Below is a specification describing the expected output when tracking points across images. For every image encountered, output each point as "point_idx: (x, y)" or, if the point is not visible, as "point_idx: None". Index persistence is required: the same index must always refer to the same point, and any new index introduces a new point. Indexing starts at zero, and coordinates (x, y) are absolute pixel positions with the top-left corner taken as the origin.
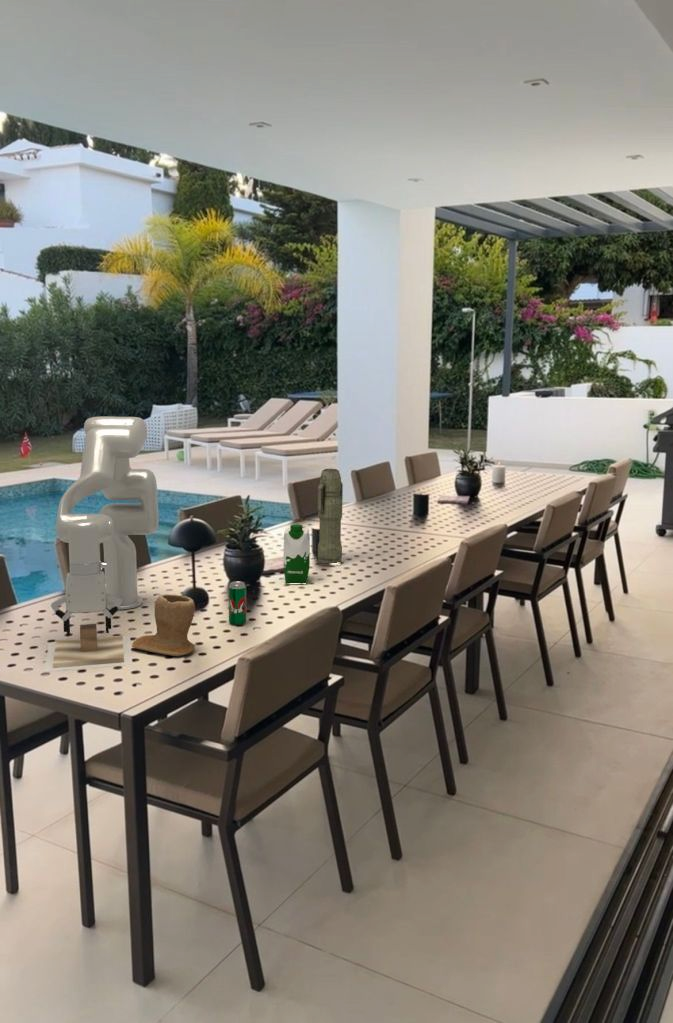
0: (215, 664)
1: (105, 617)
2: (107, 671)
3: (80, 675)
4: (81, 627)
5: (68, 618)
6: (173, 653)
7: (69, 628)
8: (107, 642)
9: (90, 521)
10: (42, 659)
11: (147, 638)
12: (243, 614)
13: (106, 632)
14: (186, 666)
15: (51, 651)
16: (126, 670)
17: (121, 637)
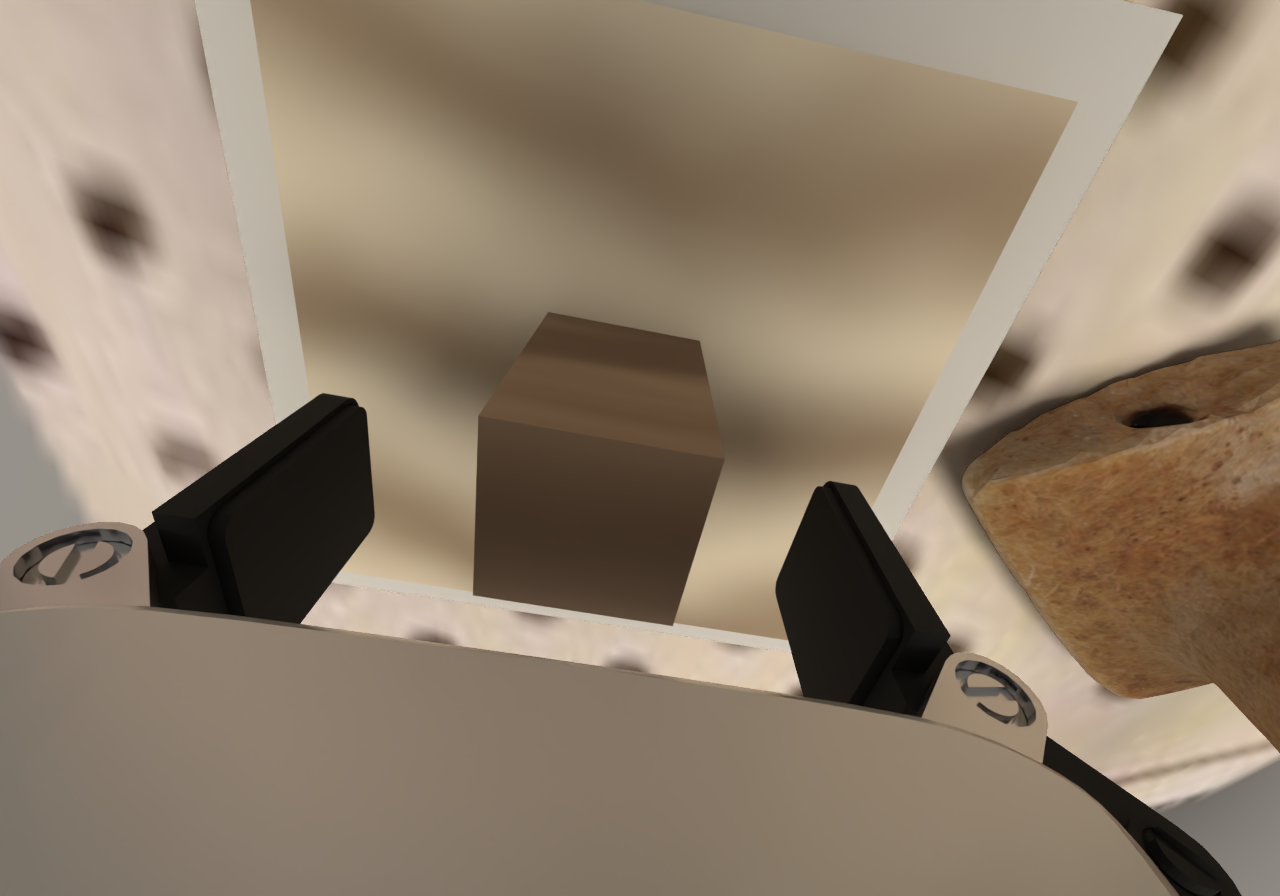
0: (1207, 752)
1: (854, 695)
2: (673, 651)
3: (525, 646)
4: (495, 530)
5: (208, 583)
6: (1111, 690)
7: (329, 554)
8: (818, 291)
9: None
10: (233, 304)
11: (1146, 517)
12: None
13: (781, 592)
14: (1070, 727)
15: (267, 183)
16: (772, 672)
17: (1024, 182)
